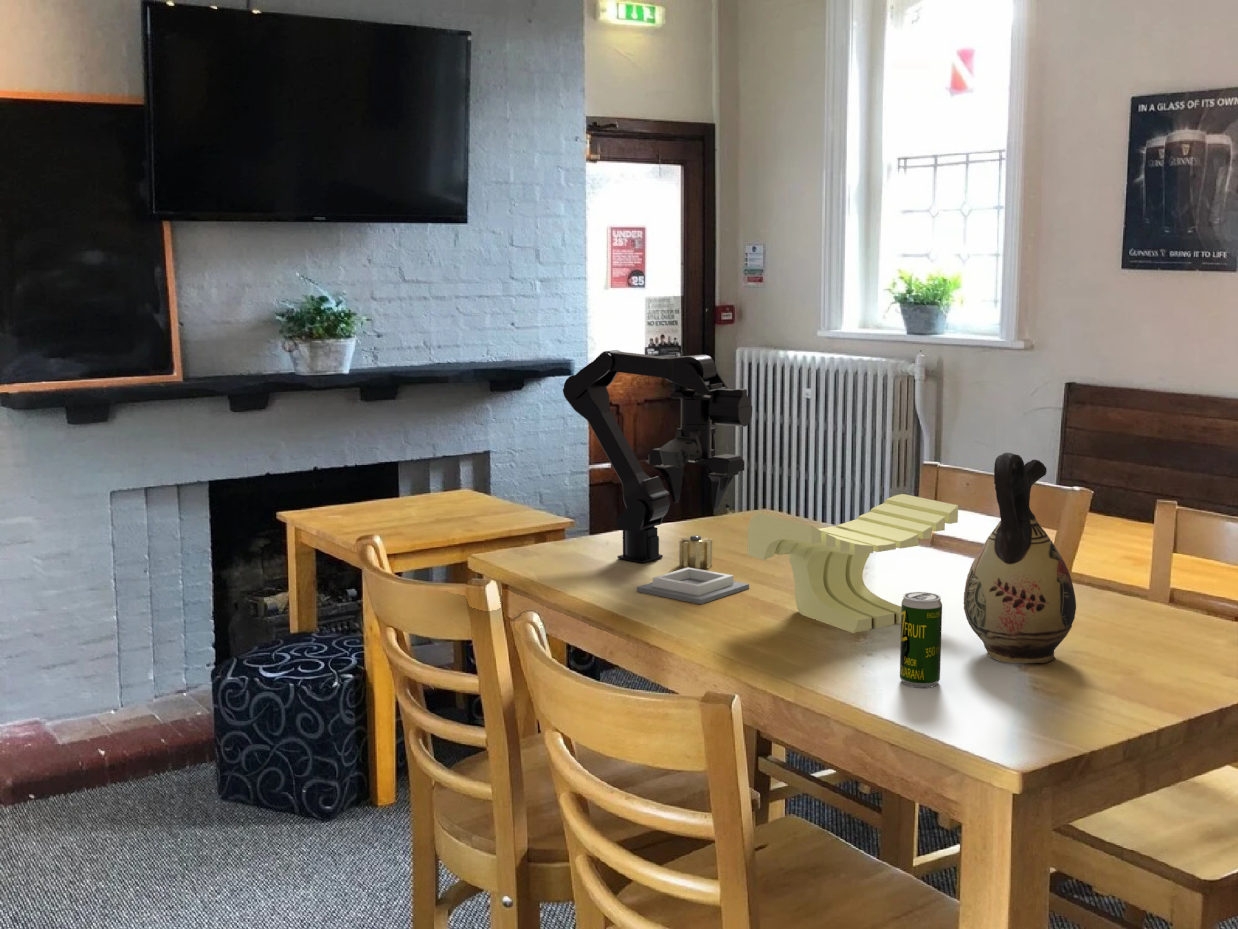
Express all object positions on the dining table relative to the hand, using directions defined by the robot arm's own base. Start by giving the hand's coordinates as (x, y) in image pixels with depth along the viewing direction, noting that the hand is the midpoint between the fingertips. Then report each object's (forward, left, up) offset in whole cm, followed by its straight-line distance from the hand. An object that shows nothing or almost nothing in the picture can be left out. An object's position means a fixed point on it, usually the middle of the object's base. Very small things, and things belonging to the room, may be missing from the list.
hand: (695, 505), depth 245 cm
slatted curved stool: (+41, -12, -12) cm, 44 cm away
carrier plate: (+11, -15, -12) cm, 22 cm away
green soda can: (+66, -36, -12) cm, 76 cm away
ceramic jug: (+71, -17, -12) cm, 74 cm away
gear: (0, 0, -12) cm, 12 cm away
